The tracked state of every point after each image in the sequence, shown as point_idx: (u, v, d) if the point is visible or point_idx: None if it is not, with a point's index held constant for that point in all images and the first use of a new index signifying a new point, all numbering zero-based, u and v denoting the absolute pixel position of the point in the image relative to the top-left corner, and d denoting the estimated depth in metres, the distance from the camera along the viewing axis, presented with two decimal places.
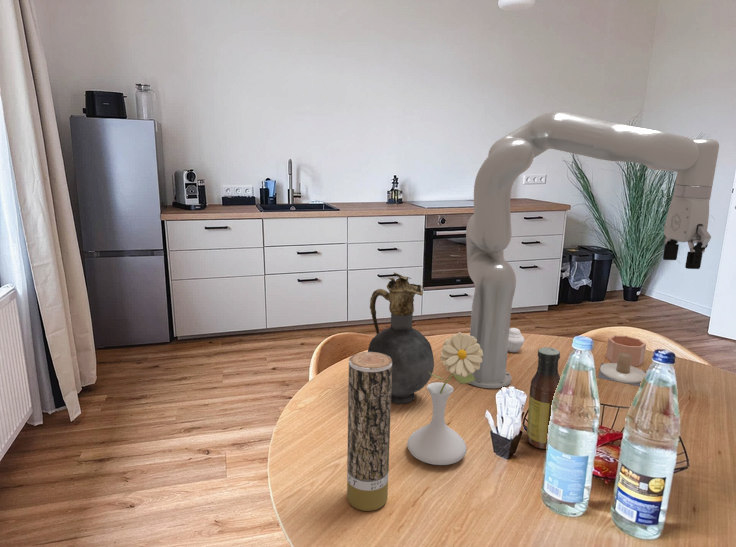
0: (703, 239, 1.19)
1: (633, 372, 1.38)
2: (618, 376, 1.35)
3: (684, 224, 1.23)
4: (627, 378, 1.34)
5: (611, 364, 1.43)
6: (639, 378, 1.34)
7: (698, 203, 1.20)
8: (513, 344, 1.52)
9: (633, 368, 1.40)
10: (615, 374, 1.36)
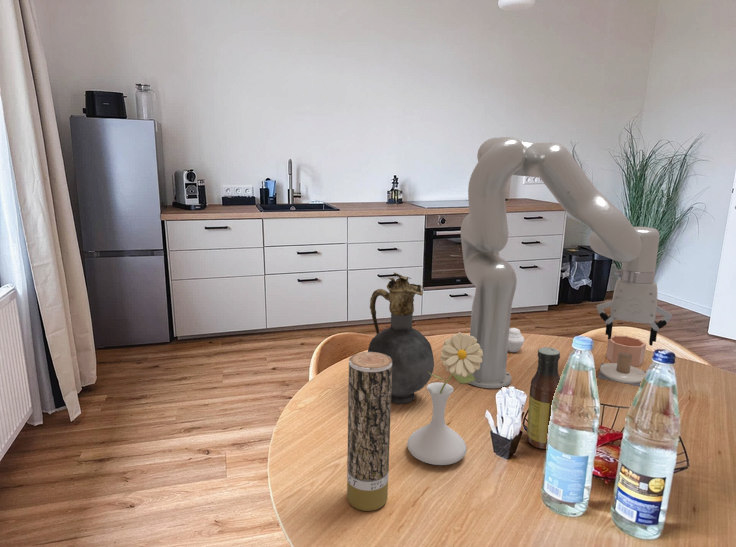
0: (668, 318, 1.31)
1: (633, 372, 1.38)
2: (618, 376, 1.35)
3: (649, 307, 1.30)
4: (627, 378, 1.34)
5: (611, 364, 1.43)
6: (639, 378, 1.34)
7: None
8: (513, 344, 1.52)
9: (633, 368, 1.40)
10: (615, 374, 1.36)
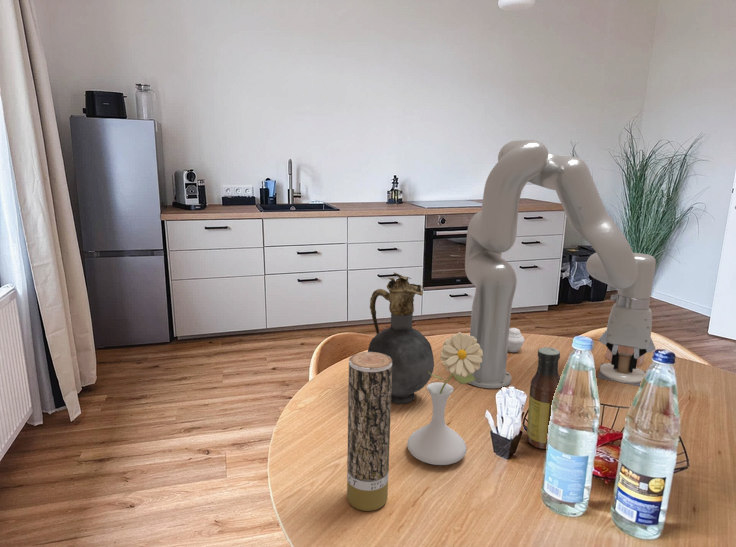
0: (650, 350, 1.34)
1: (633, 372, 1.38)
2: (618, 376, 1.35)
3: (644, 333, 1.32)
4: (627, 378, 1.34)
5: None
6: (639, 378, 1.34)
7: (651, 312, 1.32)
8: (513, 344, 1.52)
9: None
10: (614, 374, 1.36)
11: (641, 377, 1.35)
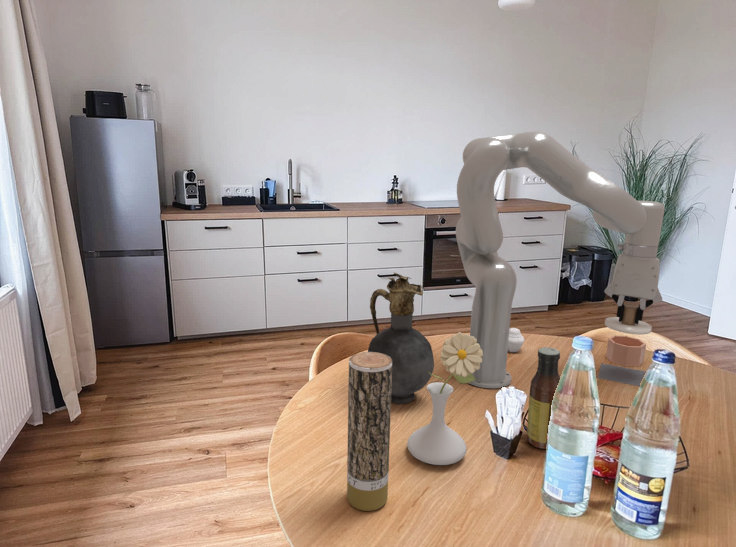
0: (657, 300, 1.31)
1: (639, 325, 1.34)
2: (624, 327, 1.32)
3: (651, 282, 1.29)
4: (633, 329, 1.31)
5: (616, 318, 1.40)
6: (645, 329, 1.31)
7: (659, 261, 1.29)
8: (513, 344, 1.52)
9: None
10: (620, 325, 1.33)
11: (647, 329, 1.32)
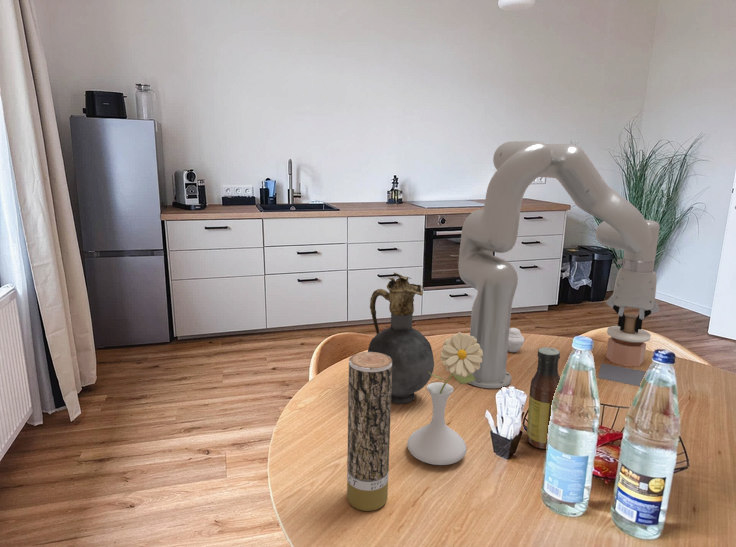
0: (655, 310, 1.42)
1: (639, 333, 1.46)
2: (625, 336, 1.43)
3: (648, 294, 1.40)
4: (633, 337, 1.42)
5: (617, 326, 1.51)
6: (644, 337, 1.43)
7: None
8: (513, 344, 1.52)
9: (638, 329, 1.49)
10: (621, 334, 1.45)
11: (646, 336, 1.43)
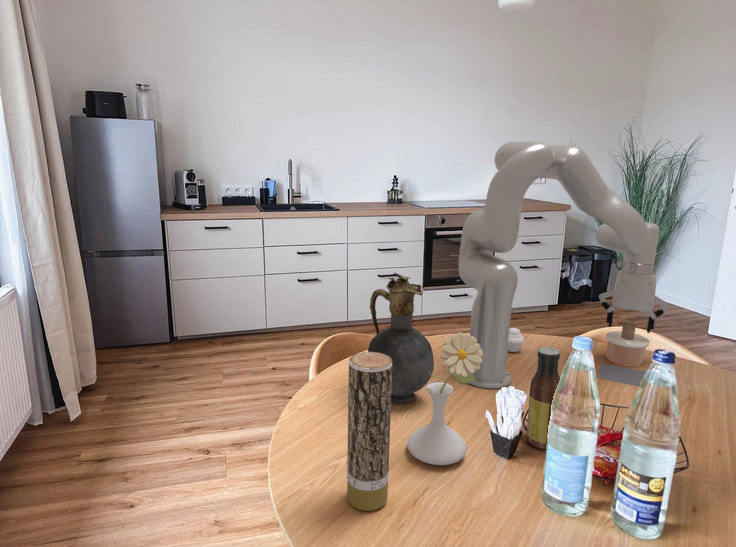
0: (665, 307, 1.41)
1: (637, 339, 1.46)
2: (623, 342, 1.44)
3: (648, 297, 1.40)
4: (631, 343, 1.43)
5: (616, 332, 1.51)
6: (643, 343, 1.43)
7: (655, 277, 1.40)
8: (513, 344, 1.52)
9: (637, 335, 1.49)
10: (620, 340, 1.45)
11: (645, 343, 1.43)
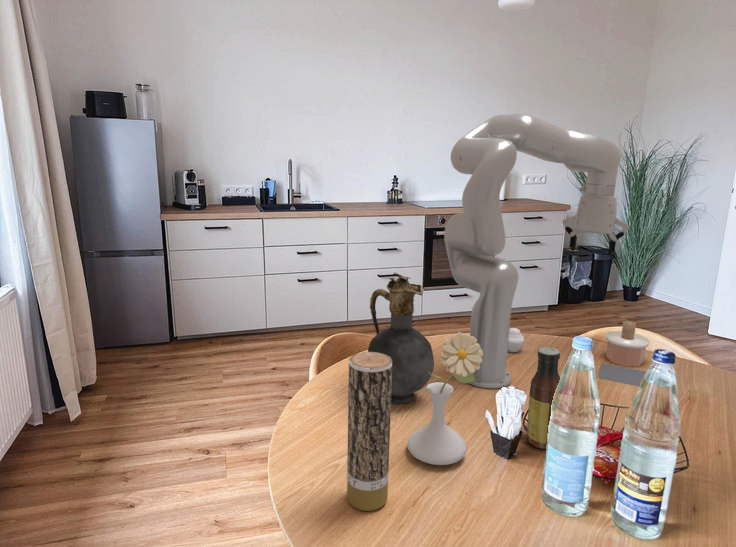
0: (625, 229, 1.43)
1: (637, 339, 1.46)
2: (623, 342, 1.44)
3: (608, 218, 1.43)
4: (631, 343, 1.43)
5: (616, 332, 1.51)
6: (643, 343, 1.43)
7: (616, 199, 1.43)
8: (513, 344, 1.52)
9: (637, 335, 1.49)
10: (620, 340, 1.45)
11: (645, 343, 1.43)
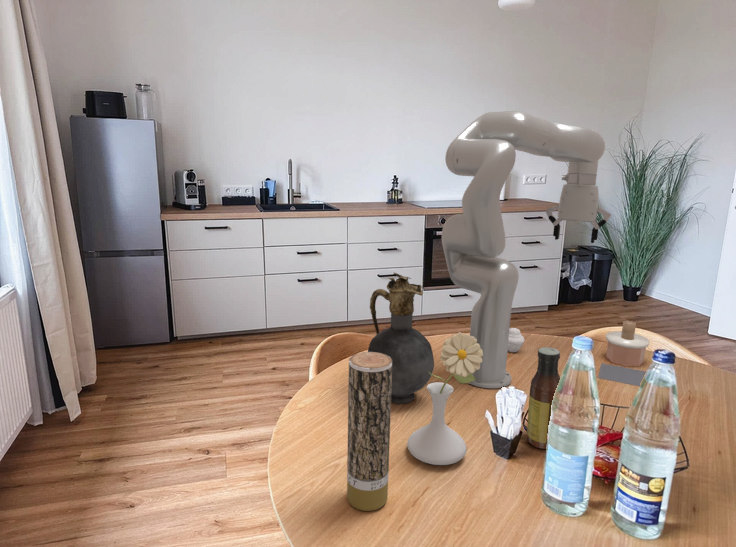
0: (607, 217, 1.46)
1: (637, 339, 1.46)
2: (623, 342, 1.44)
3: (590, 207, 1.45)
4: (631, 343, 1.43)
5: (616, 332, 1.51)
6: (643, 343, 1.43)
7: (597, 188, 1.45)
8: (513, 344, 1.52)
9: (637, 335, 1.49)
10: (620, 340, 1.45)
11: (645, 343, 1.43)
